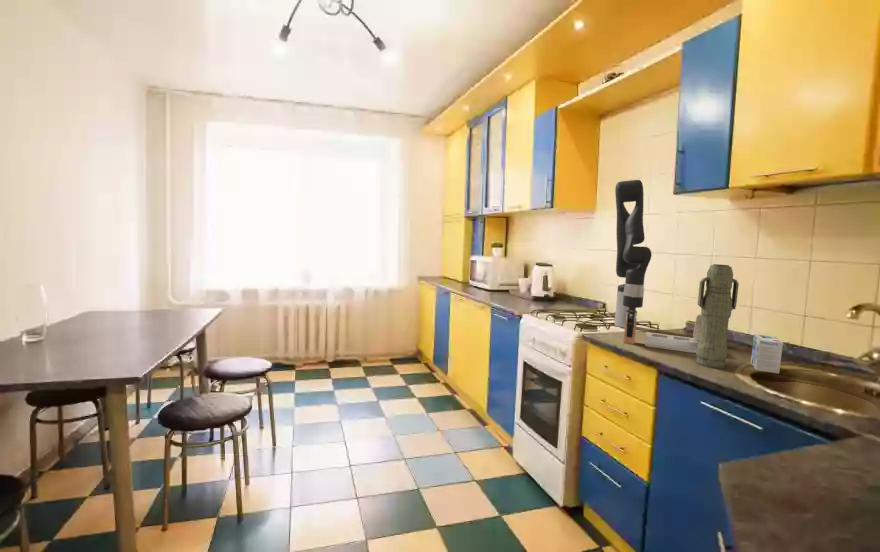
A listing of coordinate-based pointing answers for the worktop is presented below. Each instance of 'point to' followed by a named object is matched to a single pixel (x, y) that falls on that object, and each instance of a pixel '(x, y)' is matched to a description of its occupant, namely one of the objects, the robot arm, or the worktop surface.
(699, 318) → the carving
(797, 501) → the worktop surface
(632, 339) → the square peg
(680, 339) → the rack rail
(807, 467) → the worktop surface
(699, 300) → the thermos
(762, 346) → the light bulb box
